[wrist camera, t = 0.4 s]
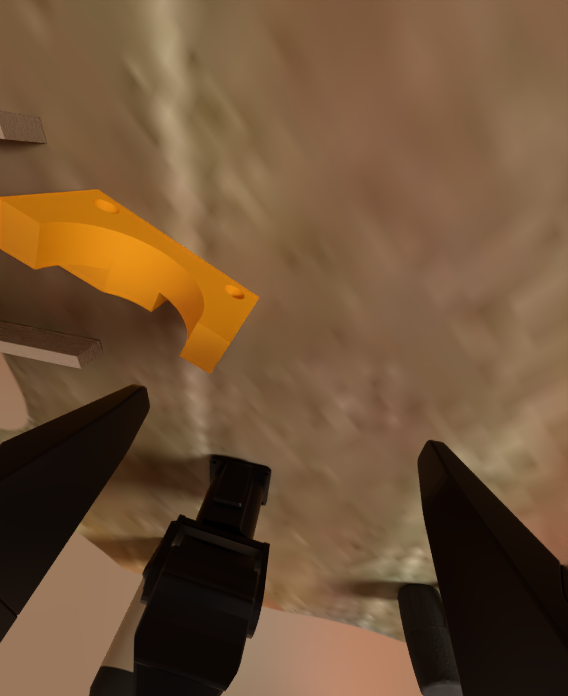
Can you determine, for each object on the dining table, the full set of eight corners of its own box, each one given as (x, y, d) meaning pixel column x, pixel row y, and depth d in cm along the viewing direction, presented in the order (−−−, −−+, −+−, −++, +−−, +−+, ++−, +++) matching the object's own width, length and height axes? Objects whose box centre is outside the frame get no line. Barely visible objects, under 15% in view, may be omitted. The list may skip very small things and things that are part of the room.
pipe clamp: (87, 247, 20) (-5, 275, 15) (99, 188, 18) (-3, 197, 13) (232, 338, 22) (198, 392, 17) (259, 296, 20) (230, 342, 15)
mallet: (675, 539, 26) (825, 705, 18) (690, 570, 28) (833, 732, 20) (387, 582, 39) (399, 689, 31) (410, 601, 41) (427, 706, 33)
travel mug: (200, 540, 41) (120, 753, 26) (215, 566, 45) (153, 764, 30) (152, 534, 43) (51, 732, 28) (170, 560, 47) (90, 745, 32)
